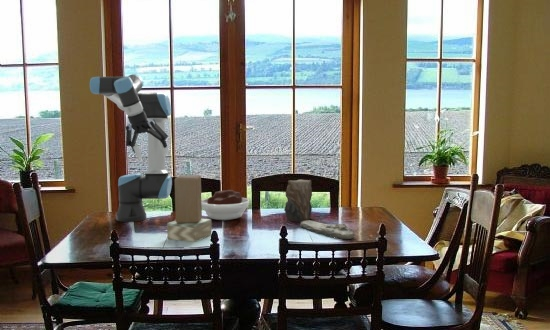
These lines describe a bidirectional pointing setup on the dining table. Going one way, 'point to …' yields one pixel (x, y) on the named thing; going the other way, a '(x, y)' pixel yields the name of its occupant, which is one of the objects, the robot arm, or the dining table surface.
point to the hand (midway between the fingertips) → (153, 156)
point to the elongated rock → (329, 229)
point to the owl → (298, 200)
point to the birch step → (189, 230)
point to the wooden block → (188, 199)
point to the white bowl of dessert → (225, 205)
